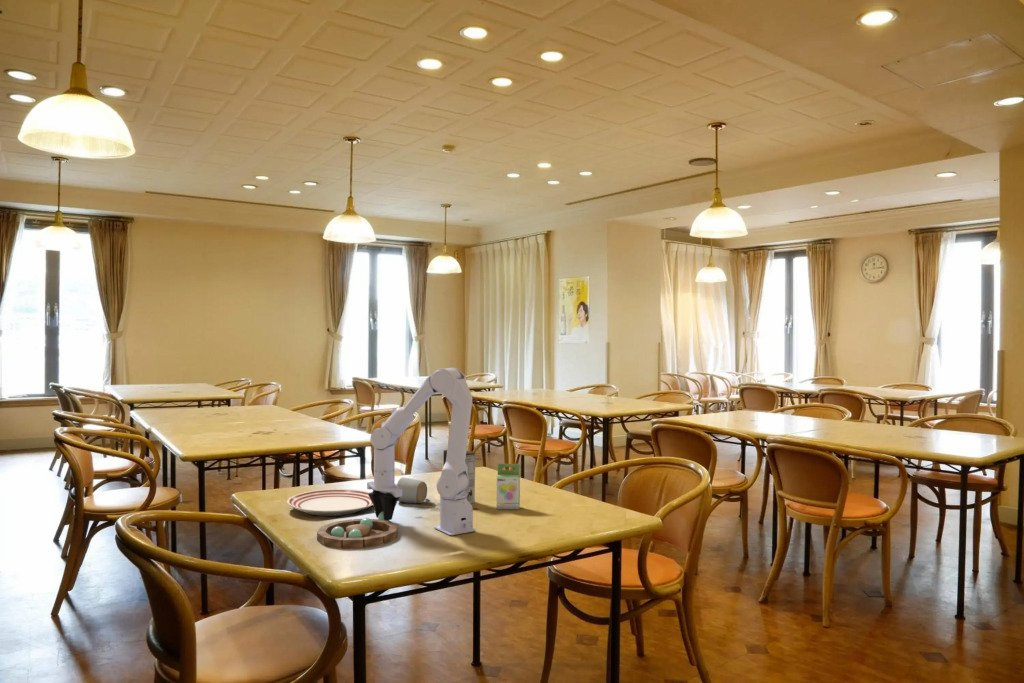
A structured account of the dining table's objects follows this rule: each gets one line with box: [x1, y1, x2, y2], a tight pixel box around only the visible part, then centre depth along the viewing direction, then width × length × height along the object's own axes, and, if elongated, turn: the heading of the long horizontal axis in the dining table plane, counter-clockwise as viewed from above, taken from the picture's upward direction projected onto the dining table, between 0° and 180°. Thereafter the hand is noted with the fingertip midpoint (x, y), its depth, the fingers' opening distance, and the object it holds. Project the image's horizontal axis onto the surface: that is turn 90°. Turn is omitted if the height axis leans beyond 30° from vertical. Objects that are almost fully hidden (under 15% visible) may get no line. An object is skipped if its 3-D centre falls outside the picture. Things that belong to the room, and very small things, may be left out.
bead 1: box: [360, 517, 373, 529], centre depth 189 cm, size 3×3×3 cm
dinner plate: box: [286, 488, 373, 517], centre depth 216 cm, size 28×27×3 cm
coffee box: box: [443, 449, 476, 504], centre depth 225 cm, size 9×6×16 cm
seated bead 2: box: [348, 529, 362, 538], centre depth 178 cm, size 3×3×3 cm
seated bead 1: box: [331, 527, 345, 537], centre depth 180 cm, size 3×3×3 cm
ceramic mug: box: [396, 477, 428, 504], centre depth 225 cm, size 11×8×8 cm
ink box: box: [496, 463, 521, 511], centre depth 217 cm, size 7×4×13 cm, turn 87°
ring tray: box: [316, 518, 399, 549], centre depth 183 cm, size 20×20×3 cm
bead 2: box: [377, 512, 390, 521], centre depth 198 cm, size 3×3×3 cm
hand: (384, 518), depth 198 cm, fingers closed on bead 2, 3 cm apart
